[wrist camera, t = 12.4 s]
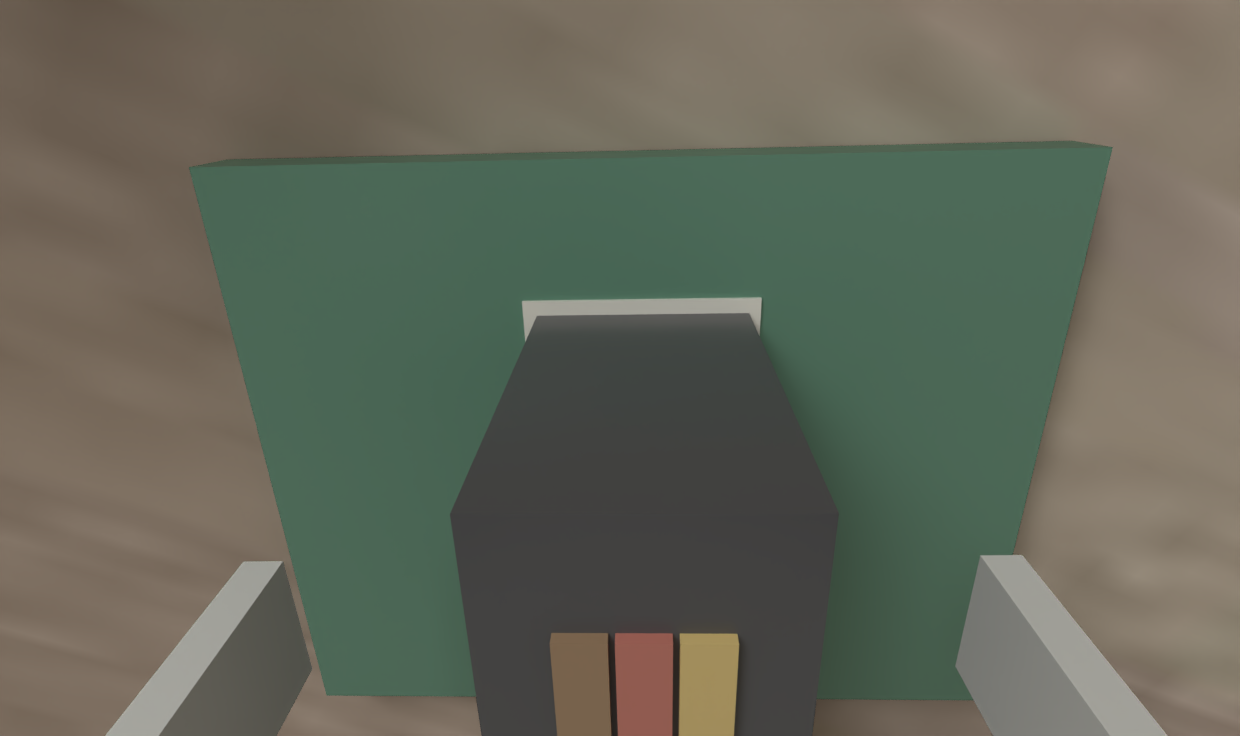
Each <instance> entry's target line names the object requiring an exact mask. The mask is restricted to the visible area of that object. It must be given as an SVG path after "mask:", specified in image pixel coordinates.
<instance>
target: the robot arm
mask: <svg viewBox="0 0 1240 736" xmlns="http://www.w3.org/2000/svg"><path fill="white" fill-rule="evenodd" d="M955 667H956V668H957V670H958V672H959V674H960V676H961V678H962V679H963V681H964V683H965V685H966V687H967V689H968V691H969V692H970V694H971V696H972V698H973V700H974V702H975V703H976V705H977V707H978V709H979V711H980V713H981V714H982V716H983V718H984V720H985V722H986V724H987V726H988V727H989V729H990V731H991V733H992V735H993V736H1167V734H1166V733H1165V732H1164V731H1163V729H1162V728H1161V727H1160V726H1159V724H1158V723H1157V722H1156V721H1155V719H1154V718H1153V717H1152V716H1151V714H1150V713H1149V712H1148V711H1147V710H1146V708H1145V707H1144V706H1143V705H1142V703H1141V702H1140V701H1139V700H1138V698H1137V697H1136V696H1135V695H1134V693H1133V692H1132V691H1131V690H1130V688H1129V687H1128V686H1127V685H1126V683H1125V682H1124V681H1123V680H1122V678H1121V677H1120V676H1119V675H1118V673H1117V672H1116V671H1115V670H1114V669H1113V667H1112V666H1111V665H1110V664H1109V662H1108V661H1107V660H1106V659H1105V657H1104V656H1103V655H1102V654H1101V652H1100V651H1099V650H1098V649H1097V647H1096V646H1095V645H1094V644H1093V642H1092V641H1091V640H1090V639H1089V637H1088V636H1087V635H1086V634H1085V633H1084V631H1083V630H1082V629H1081V628H1080V626H1079V625H1078V624H1077V623H1076V621H1075V620H1074V619H1073V618H1072V616H1071V615H1070V614H1069V613H1068V611H1067V610H1066V609H1065V608H1064V606H1063V605H1062V604H1061V603H1060V601H1059V600H1058V599H1057V598H1056V596H1055V595H1054V594H1053V593H1052V592H1051V590H1050V589H1049V588H1048V587H1047V585H1046V584H1045V583H1044V582H1043V580H1042V579H1041V578H1040V577H1039V575H1038V574H1037V573H1036V572H1035V570H1034V569H1033V568H1032V567H1031V565H1030V564H1029V563H1028V562H1027V560H1026V559H1025V558H1024V557H1023V555H980V559H979V564H978V568H977V572H976V577H975V581H974V586H973V590H972V594H971V599H970V603H969V608H968V612H967V617H966V621H965V625H964V630H963V634H962V639H961V643H960V647H959V652H958V656H957V661H956V665H955ZM311 670H312V666H311V663H310V659H309V655H308V652H307V648H306V644H305V641H304V637H303V633H302V630H301V626H300V622H299V618H298V615H297V611H296V607H295V604H294V600H293V596H292V593H291V589H290V585H289V581H288V578H287V574H286V570H285V567H284V563H283V561H263V562H243V563H242V564H241V565H240V567H239V568H238V569H237V570H236V572H235V573H234V574H233V575H232V577H231V578H230V579H229V580H228V582H227V583H226V584H225V586H224V587H223V588H222V589H221V591H220V592H219V593H218V594H217V596H216V597H215V598H214V599H213V601H212V602H211V603H210V604H209V606H208V607H207V608H206V609H205V611H204V612H203V613H202V614H201V616H200V617H199V618H198V620H197V621H196V622H195V623H194V625H193V626H192V627H191V628H190V630H189V631H188V632H187V633H186V635H185V636H184V637H183V638H182V640H181V641H180V642H179V643H178V645H177V646H176V647H175V649H174V650H173V651H172V652H171V654H170V655H169V656H168V657H167V659H166V660H165V661H164V662H163V664H162V665H161V666H160V667H159V669H158V670H157V671H156V672H155V674H154V675H153V676H152V677H151V679H150V680H149V681H148V683H147V684H146V685H145V686H144V688H143V689H142V690H141V691H140V693H139V694H138V695H137V696H136V698H135V699H134V700H133V701H132V703H131V704H130V705H129V706H128V708H127V709H126V710H125V712H124V713H123V714H122V715H121V717H120V718H119V719H118V720H117V722H116V723H115V724H114V725H113V727H112V728H111V729H110V730H109V732H108V733H107V734H106V735H105V736H277V734H278V732H279V730H280V728H281V726H282V724H283V723H284V721H285V719H286V717H287V715H288V713H289V711H290V709H291V708H292V706H293V704H294V702H295V700H296V698H297V696H298V695H299V693H300V691H301V689H302V687H303V685H304V683H305V681H306V680H307V678H308V676H309V674H310V672H311Z"/></svg>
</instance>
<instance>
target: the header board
mask: <svg viewBox="0 0 1240 736" xmlns="http://www.w3.org/2000/svg"><path fill="white" fill-rule="evenodd" d="M1112 148H1113V147H1108V146H1102V145H1095V144H1089V143H1082V142H1076V141H1046V142H1001V143H956V144H911V145H865V146H820V147H775V148H730V149H684V150H639V151H594V152H549V153H504V154H458V155H413V156H368V157H323V158H278V159H232V160H222V161H217V162H213V163H208V164H203V165H198V166H193V167H189V169H190V173H191V177H192V181H193V184H194V188H195V192H196V196H197V200H198V204H199V207H200V211H201V215H202V219H203V223H204V227H205V230H206V234H207V238H208V242H209V246H210V250H211V253H212V257H213V261H214V265H215V269H216V273H217V276H218V280H219V284H220V288H221V292H222V296H223V299H224V303H225V307H226V311H227V315H228V319H229V322H230V326H231V330H232V334H233V338H234V342H235V345H236V349H237V353H238V357H239V361H240V365H241V368H242V372H243V376H244V380H245V384H246V388H247V391H248V395H249V399H250V403H251V407H252V411H253V414H254V418H255V422H256V426H257V430H258V434H259V437H260V441H261V445H262V449H263V453H264V457H265V460H266V464H267V468H268V472H269V476H270V480H271V483H272V487H273V491H274V495H275V499H276V503H277V506H278V510H279V514H280V518H281V522H282V526H283V529H284V533H285V537H286V541H287V545H288V549H289V553H290V556H291V560H292V564H293V568H294V572H295V576H296V579H297V583H298V587H299V591H300V595H301V599H302V602H303V606H304V610H305V614H306V618H307V622H308V625H309V629H310V633H311V637H312V641H313V645H314V648H315V652H316V656H317V660H318V664H319V668H320V671H321V675H322V679H323V683H324V687H325V691H326V694H327V695H343V696H476V692H475V686H474V679H473V672H472V665H471V658H470V651H469V644H468V637H467V630H466V623H465V616H464V609H463V602H462V595H461V588H460V581H459V574H458V567H457V561H456V554H455V547H454V540H453V533H452V526H451V519H450V513H451V510H452V508H453V506H454V503H455V501H456V499H457V497H458V494H459V492H460V490H461V488H462V485H463V483H464V481H465V478H466V476H467V474H468V472H469V469H470V467H471V465H472V462H473V460H474V458H475V456H476V453H477V451H478V449H479V446H480V444H481V442H482V440H483V437H484V435H485V433H486V431H487V428H488V426H489V424H490V421H491V419H492V417H493V415H494V412H495V410H496V408H497V405H498V403H499V401H500V399H501V396H502V394H503V392H504V390H505V387H506V385H507V383H508V380H509V378H510V376H511V374H512V371H513V369H514V367H515V364H516V362H517V360H518V358H519V355H520V353H521V351H522V348H523V346H524V344H525V342H526V339H527V337H528V335H529V333H530V330H531V328H532V326H533V323H534V321H535V319H536V317H537V316H553V315H632V314H711V313H749V314H750V316H751V318H752V320H753V323H754V325H755V327H756V329H757V331H758V334H759V336H760V338H761V340H762V343H763V345H764V347H765V349H766V352H767V354H768V356H769V358H770V361H771V363H772V365H773V367H774V369H775V372H776V374H777V376H778V378H779V381H780V383H781V385H782V387H783V390H784V392H785V394H786V396H787V398H788V401H789V403H790V405H791V407H792V410H793V412H794V414H795V416H796V419H797V421H798V423H799V425H800V427H801V430H802V432H803V434H804V436H805V439H806V441H807V443H808V445H809V448H810V450H811V452H812V454H813V456H814V459H815V461H816V463H817V465H818V468H819V470H820V472H821V474H822V477H823V479H824V481H825V483H826V485H827V488H828V490H829V492H830V494H831V497H832V499H833V501H834V503H835V506H836V508H837V510H838V512H839V517H838V526H837V534H836V542H835V550H834V559H833V567H832V575H831V583H830V592H829V600H828V608H827V617H826V625H825V633H824V641H823V650H822V658H821V666H820V674H819V683H818V691H817V699H876V700H973V698H972V696H971V694H970V692H969V691H968V689H967V687H966V685H965V683H964V681H963V679H962V678H961V676H960V674H959V672H958V670H957V668H956V667H955V665H956V661H957V656H958V652H959V647H960V643H961V639H962V634H963V630H964V625H965V621H966V617H967V612H968V608H969V603H970V599H971V594H972V590H973V586H974V581H975V577H976V572H977V568H978V564H979V559H980V555H1013V551H1014V547H1015V543H1016V539H1017V535H1018V531H1019V527H1020V523H1021V518H1022V514H1023V510H1024V506H1025V502H1026V498H1027V494H1028V490H1029V486H1030V482H1031V478H1032V474H1033V470H1034V466H1035V461H1036V457H1037V453H1038V449H1039V445H1040V441H1041V437H1042V433H1043V429H1044V425H1045V421H1046V417H1047V413H1048V408H1049V404H1050V400H1051V396H1052V392H1053V388H1054V384H1055V380H1056V376H1057V372H1058V368H1059V364H1060V360H1061V355H1062V351H1063V347H1064V343H1065V339H1066V335H1067V331H1068V327H1069V323H1070V319H1071V315H1072V311H1073V307H1074V303H1075V298H1076V294H1077V290H1078V286H1079V282H1080V278H1081V274H1082V270H1083V266H1084V262H1085V258H1086V254H1087V250H1088V245H1089V241H1090V237H1091V233H1092V229H1093V225H1094V221H1095V217H1096V213H1097V209H1098V205H1099V201H1100V197H1101V192H1102V188H1103V184H1104V180H1105V176H1106V172H1107V168H1108V164H1109V160H1110V156H1111V152H1112Z"/></svg>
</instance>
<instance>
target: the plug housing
mask: <svg viewBox="0 0 1240 736" xmlns="http://www.w3.org/2000/svg"><path fill="white" fill-rule="evenodd" d="M838 517H839V512H838V510H837V508H836V506H835V503H834V501H833V499H832V497H831V494H830V492H829V490H828V488H827V485H826V483H825V481H824V479H823V477H822V474H821V472H820V470H819V468H818V465H817V463H816V461H815V459H814V456H813V454H812V452H811V450H810V448H809V445H808V443H807V441H806V439H805V436H804V434H803V432H802V430H801V427H800V425H799V423H798V421H797V419H796V416H795V414H794V412H793V410H792V407H791V405H790V403H789V401H788V398H787V396H786V394H785V392H784V390H783V387H782V385H781V383H780V381H779V378H778V376H777V374H776V372H775V369H774V367H773V365H772V363H771V361H770V358H769V356H768V354H767V352H766V349H765V347H764V345H763V343H762V340H761V338H760V336H759V334H758V331H757V329H756V327H755V325H754V323H753V320H752V318H751V316H750V314H749V313H711V314H632V315H553V316H537V317H536V319H535V321H534V323H533V326H532V328H531V330H530V333H529V335H528V337H527V339H526V342H525V344H524V346H523V348H522V351H521V353H520V355H519V358H518V360H517V362H516V364H515V367H514V369H513V371H512V374H511V376H510V378H509V380H508V383H507V385H506V387H505V390H504V392H503V394H502V396H501V399H500V401H499V403H498V405H497V408H496V410H495V412H494V415H493V417H492V419H491V421H490V424H489V426H488V428H487V431H486V433H485V435H484V437H483V440H482V442H481V444H480V446H479V449H478V451H477V453H476V456H475V458H474V460H473V462H472V465H471V467H470V469H469V472H468V474H467V476H466V478H465V481H464V483H463V485H462V488H461V490H460V492H459V494H458V497H457V499H456V501H455V503H454V506H453V508H452V510H451V513H450V519H451V526H452V533H453V540H454V547H455V554H456V561H457V567H458V574H459V581H460V588H461V595H462V602H463V609H464V616H465V623H466V630H467V637H468V644H469V651H470V658H471V665H472V672H473V679H474V686H475V692H476V699H477V706H478V713H479V720H480V727H481V734H482V736H812V732H813V724H814V716H815V707H816V699H817V691H818V683H819V674H820V666H821V658H822V650H823V641H824V633H825V625H826V617H827V608H828V600H829V592H830V583H831V575H832V567H833V559H834V550H835V542H836V534H837V526H838Z"/></svg>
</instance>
